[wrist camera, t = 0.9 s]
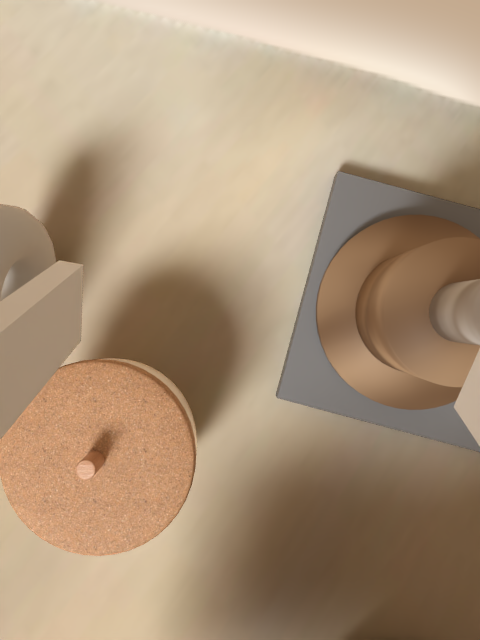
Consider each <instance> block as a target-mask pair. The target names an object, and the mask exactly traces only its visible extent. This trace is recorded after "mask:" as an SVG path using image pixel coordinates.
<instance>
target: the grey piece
mask: <svg viewBox="0 0 480 640" xmlns="http://www.w3.org/2000/svg"><path fill="white" fill-rule="evenodd" d="M55 263H56V256H55V252H54V247H53V242H52V240H51V238H50V236H49V234H48V232H47V230H46V229H45V227H44V225H43V224H42V223H41V222H40V221H39V220H37V219H36V218H35V217H34V216H33V215H31V214H30V213H29V212H28V211H26V210H25V209H22V208H20V207H16V206H10V205H3V204H0V301H2V300H3V299H5V298H6V297H8V296H9V295H10V294H12V293H13V292H15V291H16V290H18V289H19V288H20V287H22V286H23V285H25V284H26V283H28V282H29V281H30V280H32V279H33V278H35V277H36V276H38V275H39V274H40V273H42V272H43V271H45V270H46V269H48V268H49V267H50V266H52V265H53V264H55Z"/></svg>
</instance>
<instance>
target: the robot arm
mask: <svg viewBox="0 0 480 640" xmlns="http://www.w3.org/2000/svg"><path fill="white" fill-rule="evenodd" d="M82 294H83V264H78V263H72V262H67V261H61V260H59V261H58V262H56V263H55V264H53V265H52V266H50V267H49V268H48V269H46V270H45V271H43V272H42V273H40V274H39V275H38V276H36V277H35V278H33V279H32V280H30V281H29V282H28V283H26V284H25V285H23V286H22V287H20V288H19V289H18V290H16V291H15V292H13V293H12V294H10V295H9V296H8V297H6V298H5V299H3V300H2V301H0V439H1V438H2V437H3V436H4V435H5V433H6V432H7V431H8V430H9V428H10V427H11V426H12V425H13V424H14V422H15V421H16V420H17V419H18V417H19V416H20V415H21V414H22V413H23V411H24V410H25V409H26V408H27V406H28V405H29V404H30V403H31V401H32V400H33V399H34V398H35V397H36V395H37V394H38V393H39V392H40V390H41V389H42V388H43V387H44V386H45V384H46V383H47V382H48V381H49V379H50V378H51V377H52V376H53V375H54V373H55V372H56V371H57V370H58V368H59V367H60V366H61V365H62V363H63V362H64V361H65V360H66V359H67V357H68V356H69V355H70V354H71V352H72V351H73V350H74V349H75V348H76V346H77V345H78V344H79V343H80V341H81V324H82ZM454 408H455V410H456V411H457V413H458V414H459V416H460V417H461V419H462V420H463V422H464V423H465V425H466V426H467V428H468V429H469V431H470V432H471V434H472V435H473V437H474V439H475V440H476V442H477V443H478V445H479V446H480V349H479V351H478V353H477V356H476V358H475V360H474V362H473V365H472V367H471V369H470V371H469V374H468V376H467V378H466V380H465V382H464V385H463V387H462V389H461V391H460V394H459V396H458V398H457V400H456V402H455V405H454Z"/></svg>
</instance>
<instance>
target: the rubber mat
mask: <svg viewBox="0 0 480 640" xmlns="http://www.w3.org/2000/svg"><path fill="white" fill-rule="evenodd" d="M403 215H428V216H435V217H439V218H443V219H447V220H449V221H452V222H454V223H457V224H459V225H460V226H462V227H464V228H466V229H468V230H469V231H471V232H472V233H473V234H475V235H476V236H477V237H479V238H480V209H477V208H473V207H470V206H466V205H462V204H458V203H455V202H451V201H447V200H444V199H440V198H436V197H433V196H429V195H425V194H421V193H418V192H414V191H410V190H407V189H403V188H399V187H395V186H392V185H388V184H384V183H381V182H377V181H373V180H370V179H366V178H362V177H358V176H355V175H351V174H347V173H344V172H340V171H338V172H337V174H336V175H335V177H334V181H333V185H332V188H331V192H330V196H329V199H328V203H327V207H326V210H325V214H324V218H323V222H322V225H321V229H320V233H319V236H318V240H317V244H316V248H315V251H314V255H313V259H312V262H311V266H310V270H309V274H308V277H307V281H306V285H305V288H304V292H303V296H302V299H301V303H300V307H299V311H298V314H297V318H296V322H295V325H294V329H293V333H292V337H291V340H290V344H289V348H288V351H287V355H286V359H285V363H284V366H283V370H282V374H281V377H280V381H279V385H278V388H277V392H276V396H277V398H279V399H283V400H287V401H290V402H294V403H298V404H302V405H305V406H309V407H313V408H317V409H320V410H324V411H328V412H332V413H335V414H339V415H343V416H347V417H350V418H354V419H358V420H361V421H365V422H369V423H373V424H376V425H380V426H384V427H388V428H391V429H395V430H399V431H403V432H406V433H410V434H414V435H418V436H421V437H425V438H429V439H433V440H436V441H440V442H444V443H448V444H451V445H455V446H459V447H463V448H466V449H470V450H474V451H478V452H480V446H479V445H478V443H477V442H476V440H475V439H474V437H473V435H472V434H471V432H470V431H469V429H468V428H467V426H466V425H465V423H464V422H463V420H462V419H461V417H460V416H459V414H458V413H457V411H456V410H455V408H454V405H455V402H456V401H454V402H452V403H450V404H447V405H444V406H440V407H436V408H431V409H424V410H406V409H398V408H393V407H390V406H386V405H383V404H380V403H378V402H375V401H373V400H371V399H369V398H367V397H366V396H364V395H362V394H361V393H359V392H358V391H356V390H355V389H354V388H352V387H351V386H350V385H348V384H347V383H346V382H345V381H344V380H343V379H342V378H341V377H340V376H339V374H338V373H337V372H336V371H335V369H334V368H333V367H332V365H331V364H330V362H329V360H328V359H327V357H326V355H325V353H324V350H323V348H322V346H321V343H320V339H319V336H318V332H317V325H316V301H317V294H318V290H319V286H320V283H321V280H322V278H323V275H324V273H325V271H326V269H327V267H328V265H329V263H330V262H331V260H332V259H333V257H334V256H335V255H336V253H337V252H338V251H339V250H340V249H341V248H342V247H343V246H344V245H345V244H346V243H347V242H348V241H349V240H350V239H351V238H353V237H354V236H355V235H356V234H358V233H359V232H361V231H362V230H364V229H366V228H368V227H369V226H371V225H373V224H375V223H378V222H380V221H382V220H385V219H389V218H393V217H397V216H403Z"/></svg>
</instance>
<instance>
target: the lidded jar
mask: <svg viewBox="0 0 480 640" xmlns="http://www.w3.org/2000/svg"><path fill="white" fill-rule="evenodd" d="M196 452H197V436H196V427H195V422H194V418H193V415H192V412H191V409H190V407H189V405H188V403H187V401H186V399H185V398H184V396H183V394H182V393H181V391H180V390H179V389H178V388H177V387H176V386H175V384H174V383H173V382H172V381H171V380H170V379H168V378H167V377H166V376H165V375H163V374H162V373H161V372H159V371H157V370H156V369H154V368H152V367H150V366H148V365H145V364H143V363H140V362H137V361H132V360H127V359H117V358H105V359H94V360H84V361H79V362H76V363H72V364H68V365H65V366H62V367H60V368H58V370H57V371H56V372H55V373H54V375H53V376H52V377H51V378H50V379H49V381H48V382H47V383H46V384H45V386H44V387H43V388H42V389H41V390H40V392H39V393H38V394H37V395H36V397H35V398H34V399H33V400H32V401H31V403H30V404H29V405H28V406H27V408H26V409H25V410H24V411H23V413H22V414H21V415H20V416H19V417H18V419H17V420H16V421H15V422H14V424H13V425H12V426H11V427H10V428H9V430H8V431H7V432H6V433H5V435H4V436H3V437H2V438H1V440H0V476H1V480H2V484H3V487H4V491H5V493H6V495H7V497H8V500H9V502H10V504H11V506H12V507H13V509H14V510H15V512H16V513H17V515H18V517H19V518H20V519H21V520H22V521H23V522H24V523H25V524H26V526H27V527H28V528H29V529H30V530H32V531H33V532H34V533H35V534H36V535H38V536H39V537H40V538H41V539H43V540H45V541H47V542H48V543H50V544H52V545H54V546H56V547H58V548H61V549H63V550H66V551H69V552H73V553H78V554H82V555H95V556H102V555H112V554H117V553H121V552H125V551H129V550H132V549H134V548H136V547H138V546H141V545H143V544H145V543H146V542H148V541H149V540H151V539H153V538H154V537H156V536H157V535H158V534H159V533H160V532H162V531H163V530H164V529H165V528H166V527H167V526H168V525H169V524H170V523H171V522H172V520H173V519H174V518H175V517H176V515H177V514H178V513H179V511H180V509H181V507H182V506H183V504H184V502H185V501H186V498H187V495H188V493H189V490H190V488H191V485H192V481H193V476H194V472H195V465H196Z"/></svg>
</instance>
